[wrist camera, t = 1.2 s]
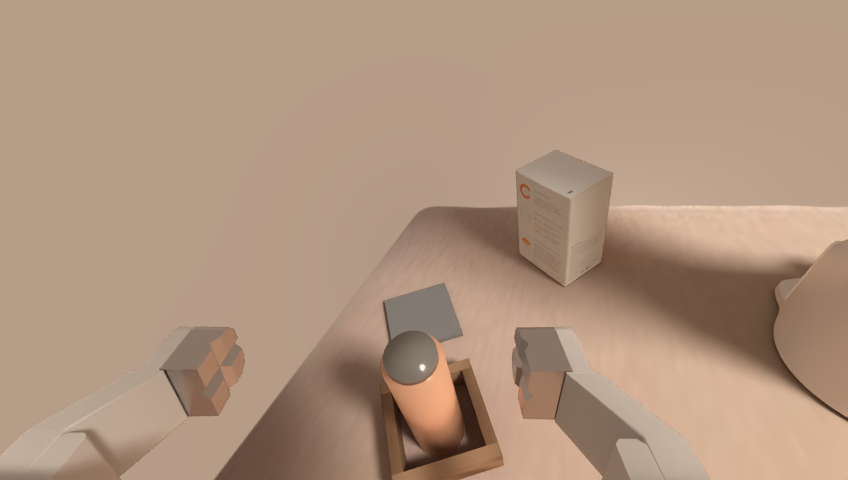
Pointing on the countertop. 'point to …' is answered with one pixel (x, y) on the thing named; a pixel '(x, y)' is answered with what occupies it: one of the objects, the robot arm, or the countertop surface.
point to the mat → (424, 313)
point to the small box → (562, 214)
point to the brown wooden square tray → (446, 473)
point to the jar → (424, 391)
